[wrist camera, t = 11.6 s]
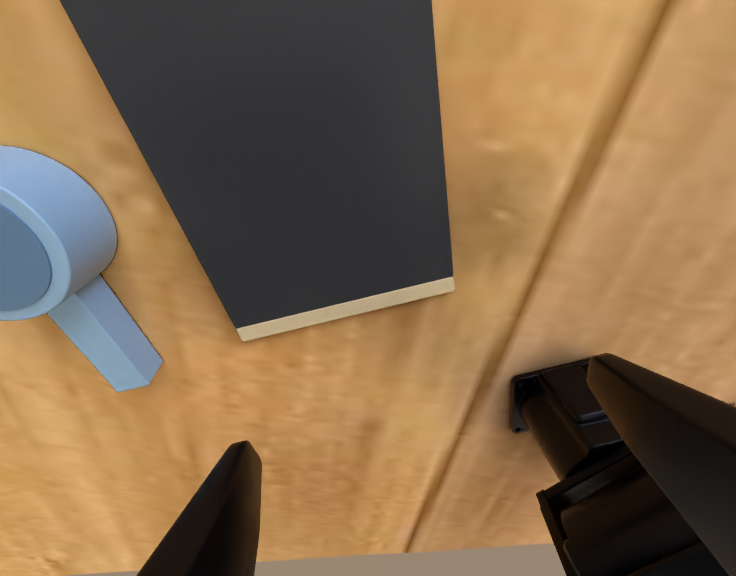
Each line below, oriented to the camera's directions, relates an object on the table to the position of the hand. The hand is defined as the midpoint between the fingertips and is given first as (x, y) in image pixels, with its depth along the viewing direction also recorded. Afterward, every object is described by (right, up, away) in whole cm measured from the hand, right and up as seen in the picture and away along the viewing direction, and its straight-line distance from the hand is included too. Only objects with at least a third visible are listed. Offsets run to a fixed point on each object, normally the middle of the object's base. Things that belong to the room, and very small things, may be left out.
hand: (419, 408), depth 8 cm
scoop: (-16, +4, +8) cm, 18 cm away
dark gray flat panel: (-4, +9, +7) cm, 12 cm away
